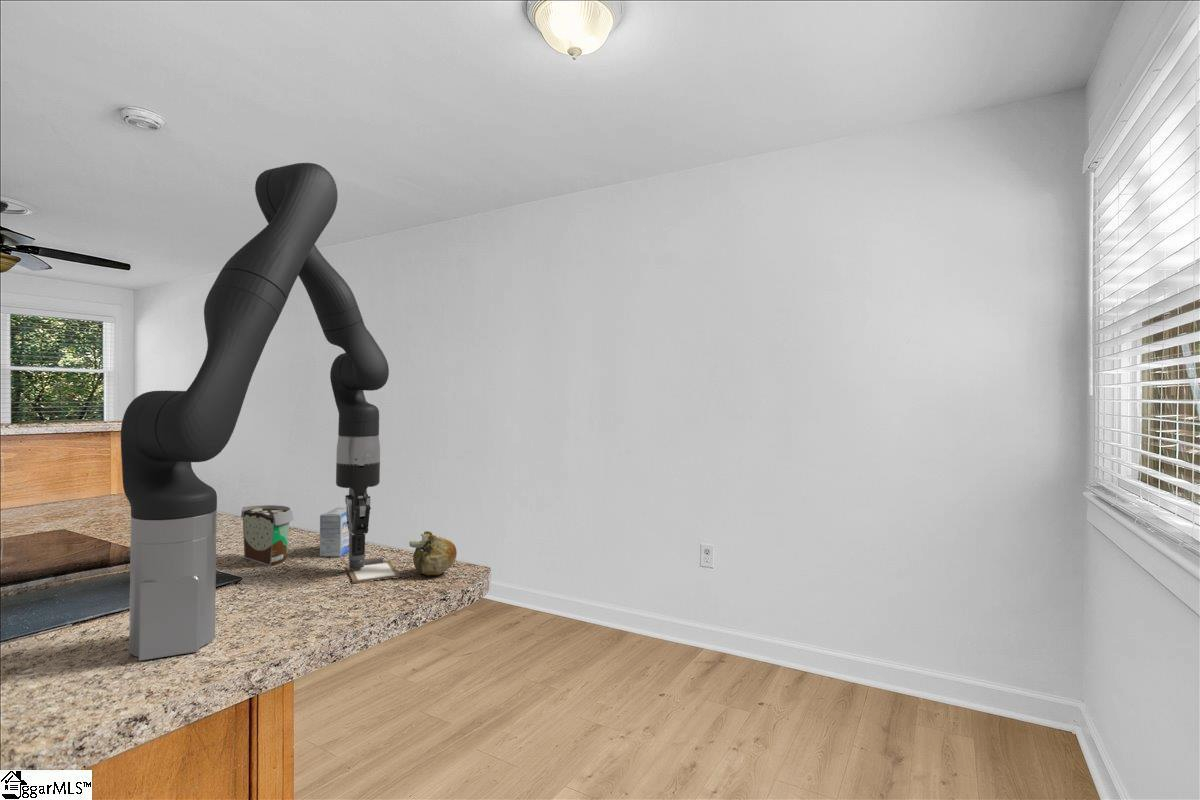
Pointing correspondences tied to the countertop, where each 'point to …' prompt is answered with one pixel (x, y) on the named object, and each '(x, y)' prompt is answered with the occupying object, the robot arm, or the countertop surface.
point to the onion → (433, 554)
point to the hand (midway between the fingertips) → (356, 552)
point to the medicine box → (334, 533)
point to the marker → (355, 560)
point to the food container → (266, 533)
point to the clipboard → (373, 571)
